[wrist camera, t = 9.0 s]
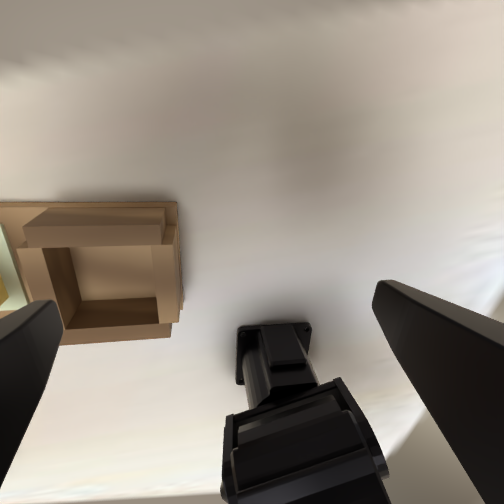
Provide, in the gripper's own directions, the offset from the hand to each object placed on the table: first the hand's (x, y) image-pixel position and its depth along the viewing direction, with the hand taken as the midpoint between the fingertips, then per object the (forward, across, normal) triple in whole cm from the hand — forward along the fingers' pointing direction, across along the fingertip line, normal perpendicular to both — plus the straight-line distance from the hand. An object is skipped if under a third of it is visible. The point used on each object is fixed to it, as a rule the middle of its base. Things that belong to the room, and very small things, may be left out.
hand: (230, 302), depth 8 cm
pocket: (+13, +6, +5) cm, 15 cm away
